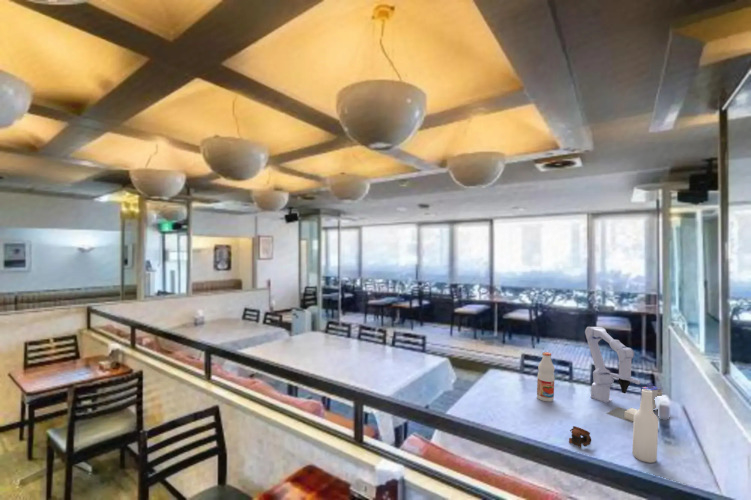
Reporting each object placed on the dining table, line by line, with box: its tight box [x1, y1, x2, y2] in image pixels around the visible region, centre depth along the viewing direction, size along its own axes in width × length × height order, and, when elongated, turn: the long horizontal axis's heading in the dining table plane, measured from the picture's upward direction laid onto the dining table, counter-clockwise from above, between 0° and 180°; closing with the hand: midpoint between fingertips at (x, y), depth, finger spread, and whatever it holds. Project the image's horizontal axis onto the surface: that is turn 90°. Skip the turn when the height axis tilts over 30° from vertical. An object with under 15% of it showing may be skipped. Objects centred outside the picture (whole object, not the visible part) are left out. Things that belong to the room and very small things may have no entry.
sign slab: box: [624, 407, 639, 421], centre depth 206 cm, size 4×9×7 cm
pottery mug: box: [568, 425, 592, 448], centre depth 177 cm, size 12×9×8 cm
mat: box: [606, 406, 634, 424], centre depth 210 cm, size 14×16×1 cm
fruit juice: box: [536, 351, 555, 403], centre depth 230 cm, size 9×9×28 cm
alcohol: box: [631, 389, 659, 464], centre depth 167 cm, size 9×9×30 cm
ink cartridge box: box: [640, 382, 663, 409], centre depth 220 cm, size 10×6×14 cm, turn 102°
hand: (624, 392), depth 216 cm, fingers closed
